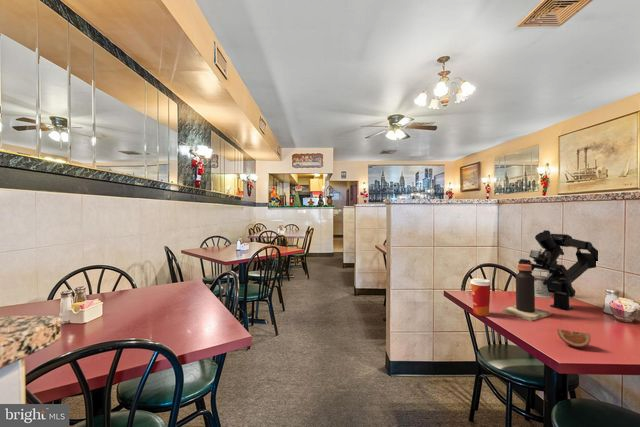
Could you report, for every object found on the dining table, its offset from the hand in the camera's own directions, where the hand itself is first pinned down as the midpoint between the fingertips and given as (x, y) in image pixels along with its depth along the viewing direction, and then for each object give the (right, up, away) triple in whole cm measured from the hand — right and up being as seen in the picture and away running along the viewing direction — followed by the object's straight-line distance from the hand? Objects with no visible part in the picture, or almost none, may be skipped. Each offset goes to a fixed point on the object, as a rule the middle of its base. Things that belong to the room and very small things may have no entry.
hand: (533, 282), depth 129 cm
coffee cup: (-23, -14, 0) cm, 27 cm away
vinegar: (-4, -12, -1) cm, 13 cm away
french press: (+24, -13, +26) cm, 38 cm away
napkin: (-4, -14, -1) cm, 14 cm away
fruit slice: (-10, -14, -32) cm, 36 cm away
